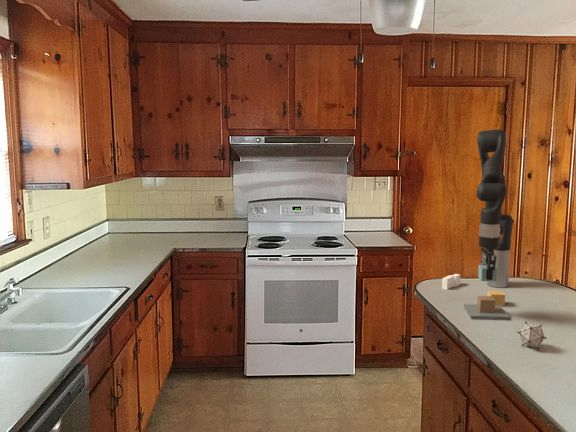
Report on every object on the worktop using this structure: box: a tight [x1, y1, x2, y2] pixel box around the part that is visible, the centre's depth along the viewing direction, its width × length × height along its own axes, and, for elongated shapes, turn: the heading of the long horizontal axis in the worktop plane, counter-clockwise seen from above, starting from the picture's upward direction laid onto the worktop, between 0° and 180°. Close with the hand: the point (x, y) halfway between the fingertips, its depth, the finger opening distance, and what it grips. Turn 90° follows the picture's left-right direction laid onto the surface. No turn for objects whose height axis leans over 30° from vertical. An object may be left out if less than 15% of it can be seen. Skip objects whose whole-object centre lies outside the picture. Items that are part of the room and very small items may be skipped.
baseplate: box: [463, 295, 510, 321], centre depth 207 cm, size 14×14×6 cm
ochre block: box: [487, 290, 506, 307], centre depth 218 cm, size 6×6×5 cm
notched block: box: [441, 273, 461, 291], centre depth 243 cm, size 15×11×6 cm
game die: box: [516, 320, 548, 351], centre depth 175 cm, size 9×8×10 cm
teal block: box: [477, 264, 497, 282], centre depth 205 cm, size 6×6×5 cm
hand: (487, 277), depth 206 cm, fingers closed on teal block, 5 cm apart
